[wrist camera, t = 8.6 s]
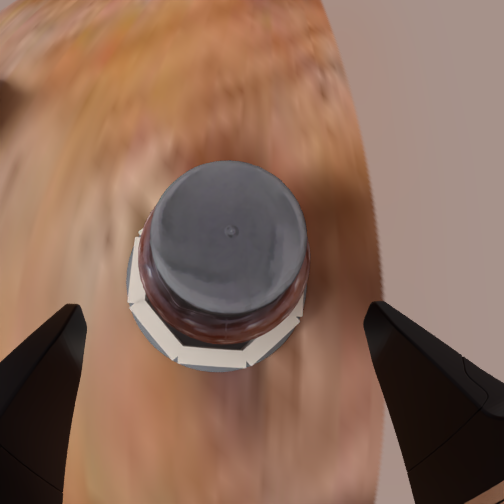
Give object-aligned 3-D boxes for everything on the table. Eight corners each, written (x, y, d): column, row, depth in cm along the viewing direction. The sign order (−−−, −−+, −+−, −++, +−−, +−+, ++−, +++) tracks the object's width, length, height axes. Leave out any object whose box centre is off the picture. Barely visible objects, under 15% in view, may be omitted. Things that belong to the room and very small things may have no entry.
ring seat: (299, 373, 19) (306, 377, 17) (122, 360, 17) (115, 363, 16) (305, 206, 21) (313, 197, 20) (142, 189, 20) (137, 179, 18)
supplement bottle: (258, 227, 20) (318, 122, 9) (276, 323, 19) (369, 327, 8) (161, 241, 19) (110, 143, 8) (176, 340, 18) (130, 373, 7)
